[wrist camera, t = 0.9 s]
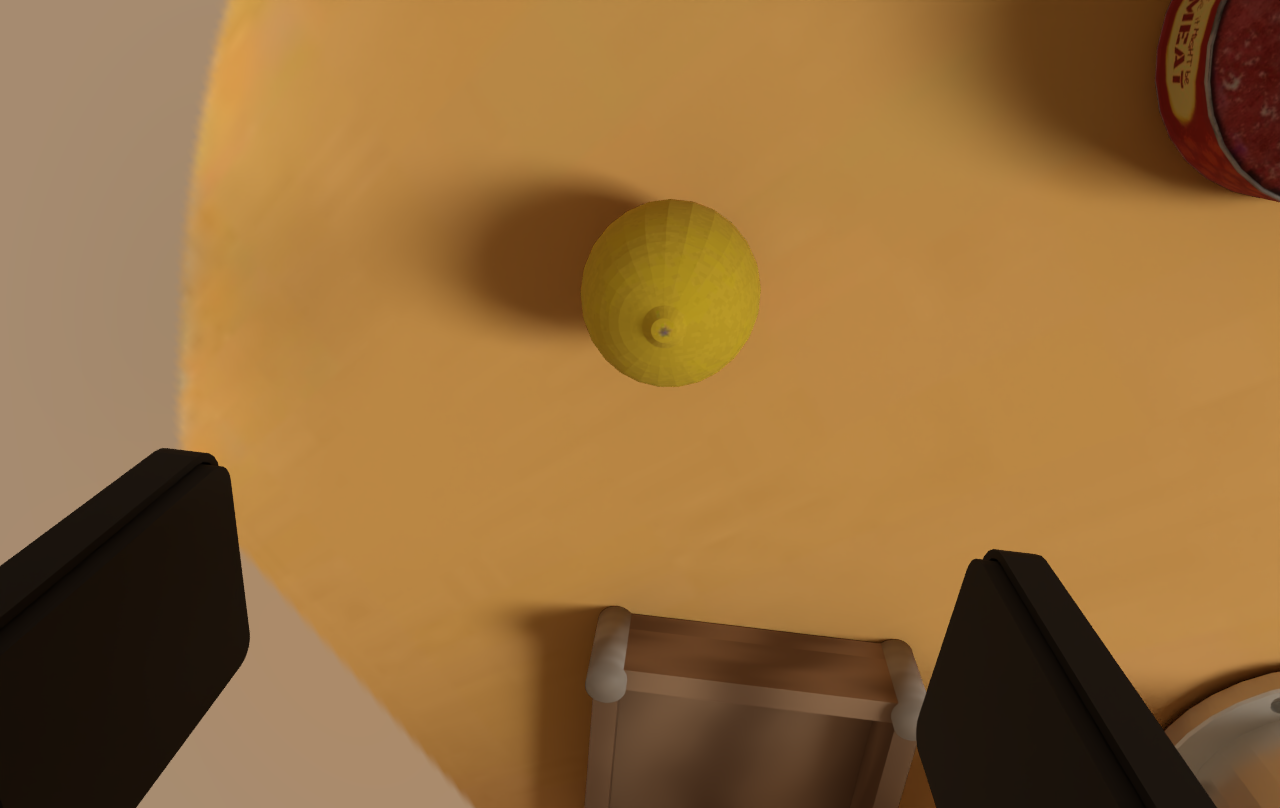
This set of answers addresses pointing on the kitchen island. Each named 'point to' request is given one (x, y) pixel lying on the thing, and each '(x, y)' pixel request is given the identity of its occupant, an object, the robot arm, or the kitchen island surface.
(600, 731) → the wooden square tray
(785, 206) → the kitchen island surface
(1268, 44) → the canned food
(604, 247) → the lemon
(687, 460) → the kitchen island surface
